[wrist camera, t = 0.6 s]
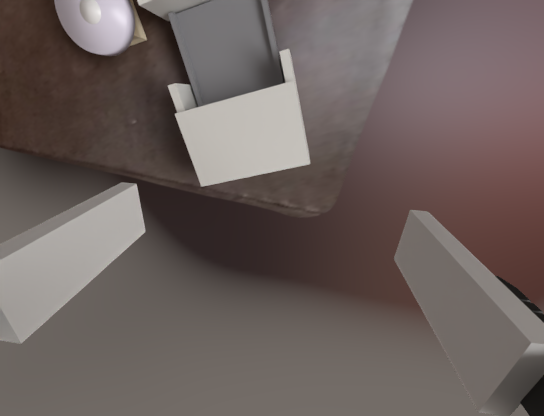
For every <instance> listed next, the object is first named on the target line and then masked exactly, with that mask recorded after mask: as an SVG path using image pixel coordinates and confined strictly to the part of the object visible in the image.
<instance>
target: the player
mask: <svg viewBox="0 0 544 416" xmlns="http://www.w3.org/2000/svg"><path fill="white" fill-rule="evenodd" d="M280 57H281V59H280V63H281V68H282V73H283V78H284V83H283V84H280V85H276V86H273V87H269V88H265V89H262V90H258V91H255V92H251V93H247V94H244V95H240V96H237V97H233V98H229V99H226V100H222V101H219V102H215V103H211V104H208V105H204V106H201V107H199V106H198V103H197V100H196V97H195V94H194V91H193V88H192V85H188V84H178V83H175V84H171V85H168V88H169V91H170V94H171V97H172V99H173V102H174V105H175V107H176V110H177V113H175V117H176V119H177V122H178V125H179V127H180V130H181V133H182V135H183V138H184V141H185V143H186V146H187V149H188V152H189V154H190V157H191V160H192V162H193V165H194V168H195V170H196V173H197V176H198V179H199V181H200V184H201V187H202V186H207V185H212V184H217V183H222V182H226V181H231V180H236V179H241V178H246V177H250V176H255V175H260V174H265V173H270V172H274V171H279V170H284V169H289V168H294V167H298V166H303V165H308V164H310V158H309V150H308V145H307V139H306V134H305V129H304V123H303V118H302V112H301V107H300V101H299V96H298V91H297V85H296V80H295V74H294V69H293V63H292V58H291V54H290V51H289V49H286V50H283V51H280Z"/></svg>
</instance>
